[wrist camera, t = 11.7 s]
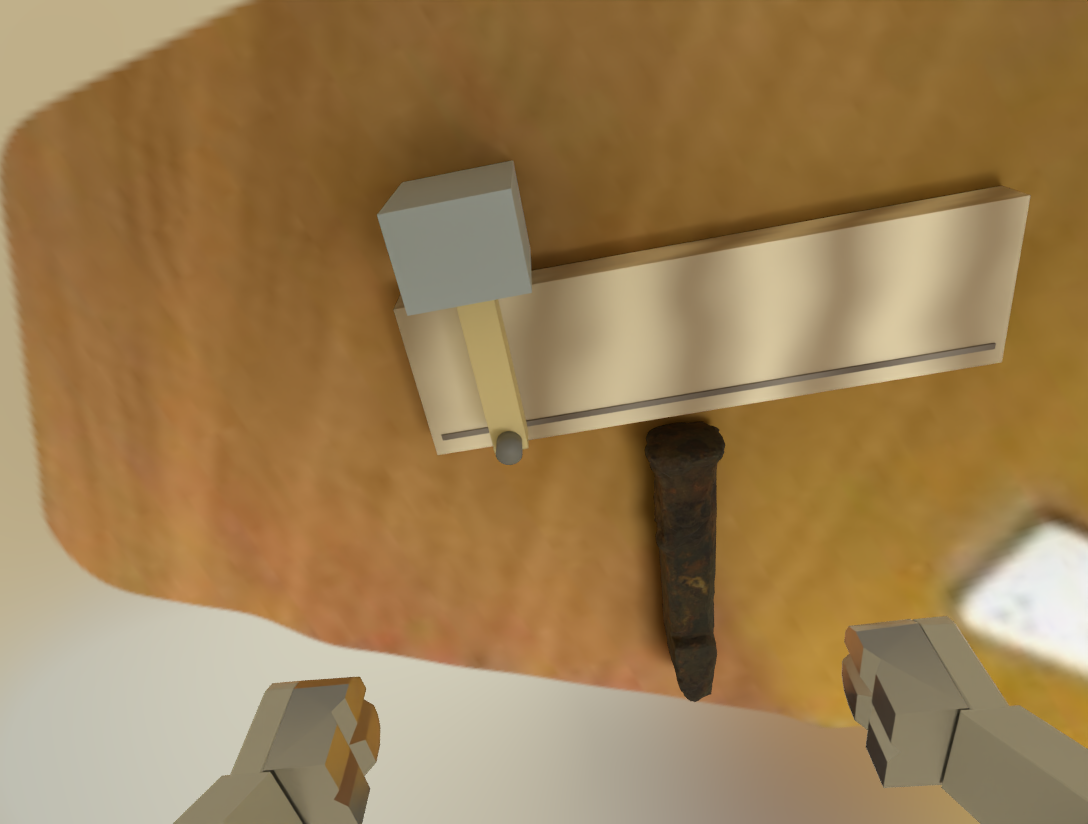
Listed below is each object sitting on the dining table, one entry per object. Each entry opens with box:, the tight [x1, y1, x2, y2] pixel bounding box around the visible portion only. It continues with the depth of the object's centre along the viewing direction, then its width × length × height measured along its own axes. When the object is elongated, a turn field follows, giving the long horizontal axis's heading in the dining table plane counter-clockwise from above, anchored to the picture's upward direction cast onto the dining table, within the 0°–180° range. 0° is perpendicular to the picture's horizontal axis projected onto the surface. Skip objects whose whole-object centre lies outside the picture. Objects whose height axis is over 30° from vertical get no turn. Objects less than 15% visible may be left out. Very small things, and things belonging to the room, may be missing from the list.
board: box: [393, 186, 1031, 455], centre depth 33 cm, size 28×8×2 cm, turn 100°
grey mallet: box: [377, 160, 532, 465], centre depth 30 cm, size 5×12×6 cm, turn 10°
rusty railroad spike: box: [645, 421, 725, 702], centre depth 39 cm, size 19×4×5 cm, turn 4°
